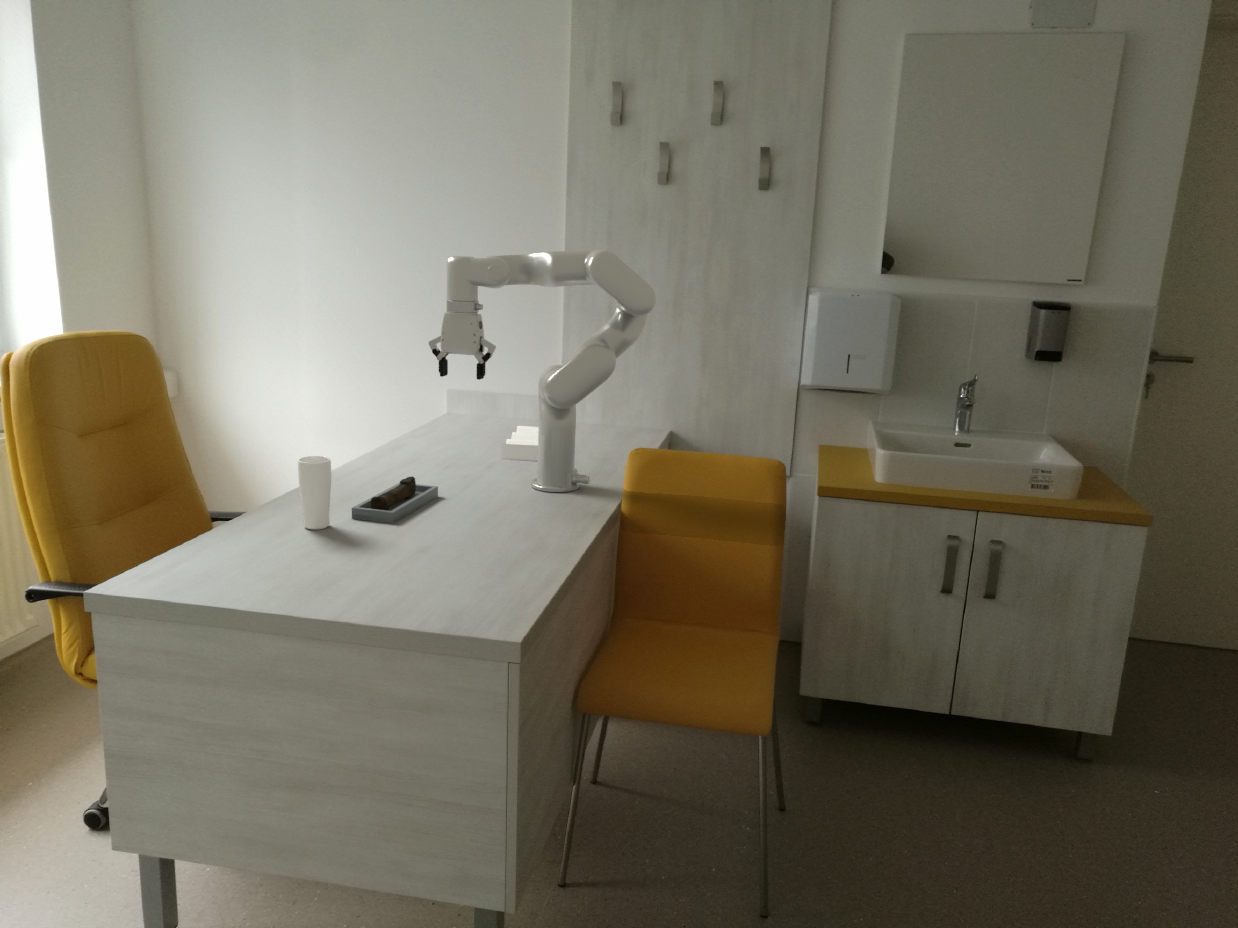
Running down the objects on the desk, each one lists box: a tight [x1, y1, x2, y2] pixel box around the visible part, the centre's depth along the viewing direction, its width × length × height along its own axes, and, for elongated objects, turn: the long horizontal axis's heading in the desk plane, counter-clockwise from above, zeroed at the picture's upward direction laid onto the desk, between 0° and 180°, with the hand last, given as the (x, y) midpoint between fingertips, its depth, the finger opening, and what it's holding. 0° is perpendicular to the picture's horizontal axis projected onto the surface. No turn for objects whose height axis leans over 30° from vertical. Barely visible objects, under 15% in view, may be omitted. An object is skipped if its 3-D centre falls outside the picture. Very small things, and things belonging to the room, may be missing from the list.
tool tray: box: [351, 482, 439, 524], centre depth 220 cm, size 10×24×2 cm, turn 167°
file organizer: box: [500, 425, 539, 462], centre depth 288 cm, size 13×35×5 cm, turn 177°
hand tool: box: [371, 476, 417, 510], centre depth 219 cm, size 19×4×5 cm, turn 164°
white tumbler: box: [297, 455, 332, 531], centre depth 201 cm, size 7×7×15 cm
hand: (461, 377), depth 233 cm, fingers open, 9 cm apart
